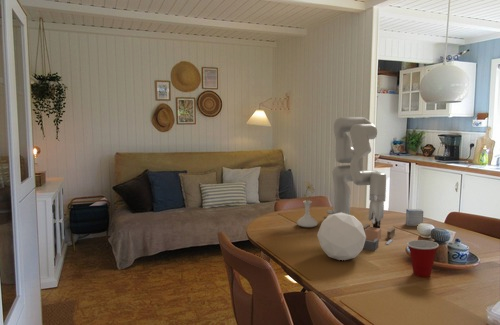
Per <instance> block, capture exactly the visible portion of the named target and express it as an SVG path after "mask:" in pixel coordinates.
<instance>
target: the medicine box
mask: <svg viewBox="0 0 500 325" xmlns="http://www.w3.org/2000/svg"><path fill="white" fill-rule="evenodd" d="M405 212H406V213H405V225H407V227H408V226H409V227H413V226H414V227H418V226H417V225H418V224H420V223H423V224H424V212H425V211H424V210H423V209H422V208H421V209H420V208H406V209H405Z"/></svg>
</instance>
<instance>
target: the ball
mask: <svg viewBox="0 0 500 325" xmlns="http://www.w3.org/2000/svg"><path fill="white" fill-rule="evenodd" d="M363 226H364V225H363V223H362V222H361V221H360V220H359V219H357V218H356V217H355V216H354V215H353V214H352V215H351V214H350V215H348V214H345V213H342V212H340V213H336V214H332V215H331V214H327V216H326V217H325V219H324V220H323V221H322V222H321V224H320V226H319V229H318V232H317V235H316V237H317V239H318V242H319V244H320V247H321V250H323V252H324V253H325V254H326V255H327V256H328V257H329V258H332V259H334V260H338V261H340V260H342V261H341V262H343V260H344V261H347V260H351V259H355V258H356V257H357V256H358V255H359V254H360V253H361V252H362V251H363V250H364V249H363V247H364V243H365V240H366V235H365V232H364V228H363Z"/></svg>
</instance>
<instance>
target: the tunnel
mask: <svg viewBox="0 0 500 325" xmlns="http://www.w3.org/2000/svg"><path fill="white" fill-rule="evenodd" d="M368 227H371V224H370V223H367V224H365V225H363V228H364V232H365V229H366V228H368ZM395 232H396V228H395V227H391V228H389V229H388V230H387V232H386V235H387V236H386V239H388V240H390V239H392V238H393V237H394V236H395V235H396V233H395Z"/></svg>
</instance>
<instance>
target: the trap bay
mask: <svg viewBox="0 0 500 325" xmlns="http://www.w3.org/2000/svg"><path fill="white" fill-rule="evenodd" d="M379 242H380V240H379V239H375V240H374V241H370V240H365V243H364V247H363V249H362V250H365V251H370V250H371V252H376V250H377V249H379Z"/></svg>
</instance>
